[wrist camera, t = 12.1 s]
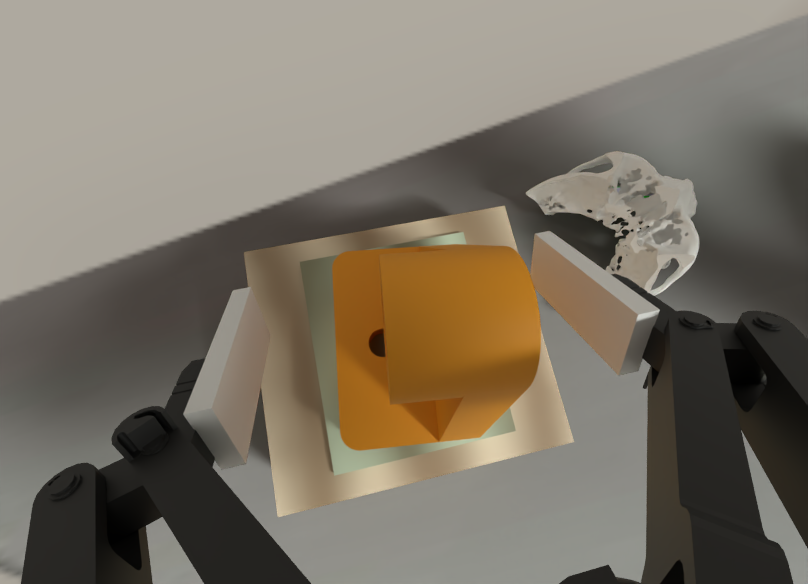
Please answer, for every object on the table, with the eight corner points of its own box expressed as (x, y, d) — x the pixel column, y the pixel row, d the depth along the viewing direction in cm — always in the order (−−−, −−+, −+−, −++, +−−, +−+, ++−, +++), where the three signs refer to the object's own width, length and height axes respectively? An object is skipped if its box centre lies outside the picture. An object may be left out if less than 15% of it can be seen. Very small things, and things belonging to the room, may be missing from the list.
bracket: (337, 265, 23) (290, 157, 11) (447, 258, 24) (511, 147, 12) (346, 442, 21) (299, 533, 9) (467, 429, 21) (571, 499, 10)
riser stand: (481, 236, 31) (506, 202, 25) (533, 427, 28) (577, 443, 22) (271, 276, 29) (241, 249, 23) (301, 484, 26) (275, 520, 20)
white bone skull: (737, 255, 29) (755, 267, 21) (624, 303, 34) (606, 326, 27) (651, 136, 31) (640, 108, 23) (558, 198, 36) (525, 192, 29)
